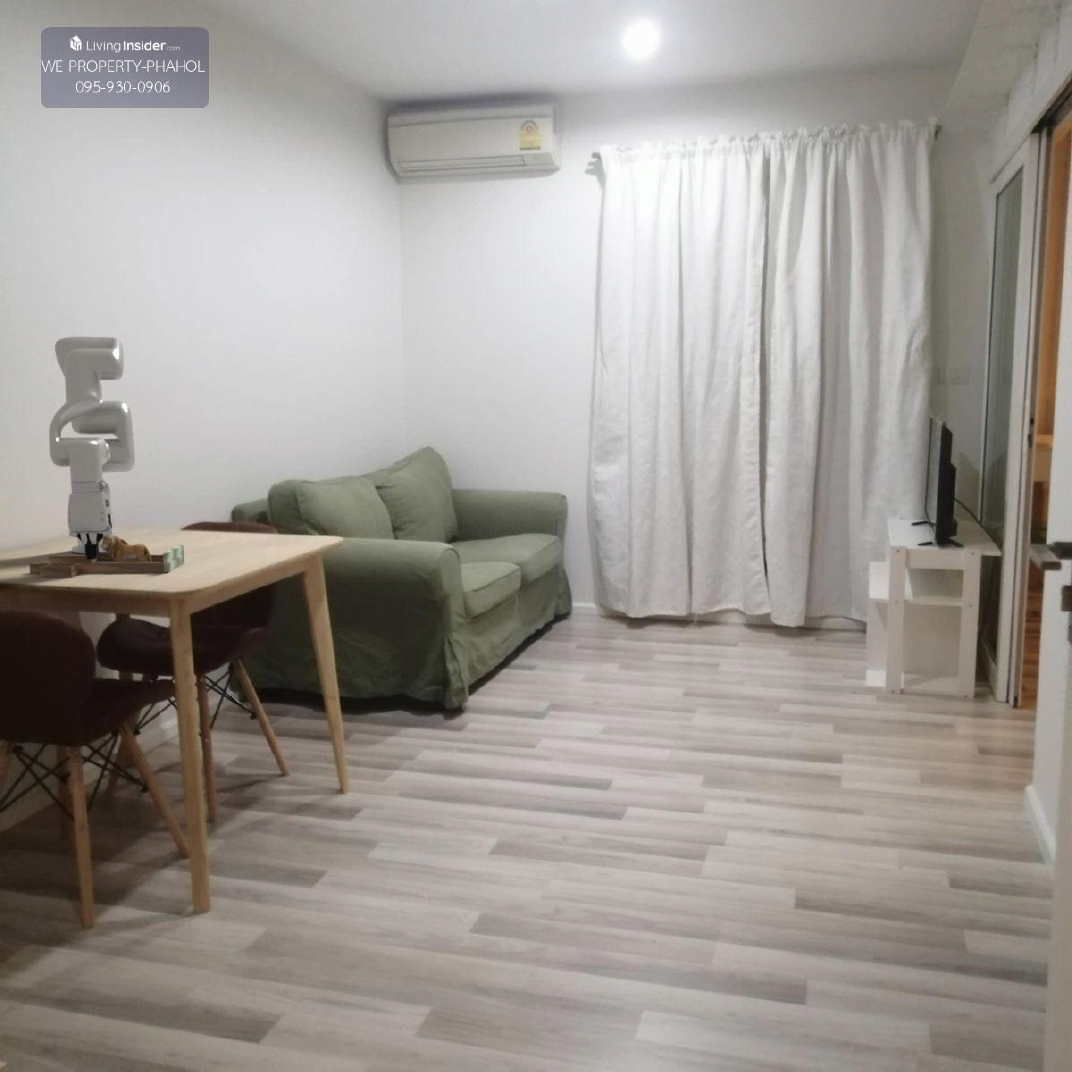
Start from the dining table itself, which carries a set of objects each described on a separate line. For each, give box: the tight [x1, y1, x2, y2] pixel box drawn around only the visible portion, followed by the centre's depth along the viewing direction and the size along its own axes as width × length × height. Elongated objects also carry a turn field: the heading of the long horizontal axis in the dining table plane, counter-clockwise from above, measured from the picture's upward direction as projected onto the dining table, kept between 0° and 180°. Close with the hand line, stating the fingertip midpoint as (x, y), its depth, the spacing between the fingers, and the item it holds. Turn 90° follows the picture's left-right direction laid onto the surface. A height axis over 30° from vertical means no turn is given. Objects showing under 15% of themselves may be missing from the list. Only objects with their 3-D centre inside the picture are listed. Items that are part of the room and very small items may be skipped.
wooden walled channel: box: [29, 544, 185, 578], centre depth 268 cm, size 22×35×5 cm, turn 91°
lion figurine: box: [101, 535, 153, 562], centre depth 267 cm, size 15×5×9 cm, turn 88°
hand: (92, 558), depth 268 cm, fingers closed
